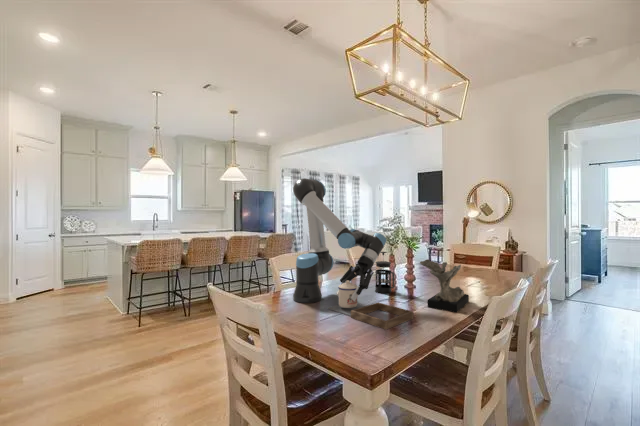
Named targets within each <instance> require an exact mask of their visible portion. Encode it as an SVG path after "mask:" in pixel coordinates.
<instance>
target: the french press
mask: <svg viewBox="0 0 640 426" xmlns="http://www.w3.org/2000/svg"><path fill="white" fill-rule="evenodd" d="M387 253H388V252H386V251H381V252H380V254H382V260H381V261H380V260H379V261H375V263H374V264H376V267H378V268H382V269H375V288H374V289H375V290H374V292H375V293H377V294H382V295H388V294H391V293H393V292H392V289H394V288H395V272H393V271H392V270H390V269H385V268H390V267H391V264H392V262H391V261H385V259H384V257H385V254H387ZM384 276H385V277H384Z"/></svg>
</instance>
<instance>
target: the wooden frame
mask: <svg viewBox="0 0 640 426" xmlns="http://www.w3.org/2000/svg"><path fill="white" fill-rule="evenodd" d="M364 306H365V307H362V308H358V309H355V310H352V311H351V316H350V318H351V319H354V320H356V321H361V322H363V323H366V324H369V325H372V326H375V327H378V328H381V329H383V330H388V329H391V328H394V327H396V326H398V325H401V324H404V323H405V322H408V321H411V320H413V319H414V311H412V310H408V309H404V308H401V307H396V306H393V305H389V304H387V303H386V304H385V303H382V302H375V303H372V304H368V305H364ZM378 310H379V311H383V312H384V313H385V312H386V313H389V314H392V315H396V316H395V317H392V318H389V319H386V320H385V319H382V318H379V317H375V316H371V315H368V314H370V313H372V312H375V311H378Z"/></svg>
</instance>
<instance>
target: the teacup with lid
mask: <svg viewBox="0 0 640 426" xmlns="http://www.w3.org/2000/svg"><path fill="white" fill-rule="evenodd" d="M357 286H358V285H356V284H354V283H352V282H351V281H349V280H347V281H346V283H343V284H342V283H341V284H339V285H338V287H337V288H338V290H339V297H338V305H339V306H341V307H344V308H353V307H356V306H357V304H358V298H357V299H356V300H355V301H353V300H352V299H351V297H352V295H353V293H354V291H355V290H356V288H357Z"/></svg>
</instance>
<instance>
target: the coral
mask: <svg viewBox="0 0 640 426" xmlns="http://www.w3.org/2000/svg"><path fill="white" fill-rule="evenodd" d="M419 264H420V265H422V266H423V267H425V268H427V269H429V270H430V272H429V274H431V275H433V276H434V277H436V278H437V279H438V282H439V287H440V290H439V291H440V292H438V293H436V294H434V295H433V296H432V297H430V298H429V299H427V307H428V308H432V309H436V308H437V310H442V309H443V311H447V310H448V312H453V311H454V312H453V313H457V311H458V312H459V311H460V310H461V309H462V308H464V307H465V306H466V305H467V304H468V303H469V300H470V299H469V298H470V296H469V294H467V293H464V292H465V291H464V290H463V289H462V288H461V287H460V286H456V287H455V288H454V287H451V286H450V283H451V280H452V279H453V278H454V277H455V276H456V275H457V274H458V272H459V271H460V270H461V268H462V265H461V264H459V265H454V266H453V268H452V269H450V270H446V267H447V265H448V263H447V261H446V262H442V263H441V265H442V266H441V267H440V264H439V263H438V262H437V261H433V260H431V261H430V259H425V260H423V261H422V260H421V261H419ZM465 304H466V305H465ZM464 305H465V306H464Z"/></svg>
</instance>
